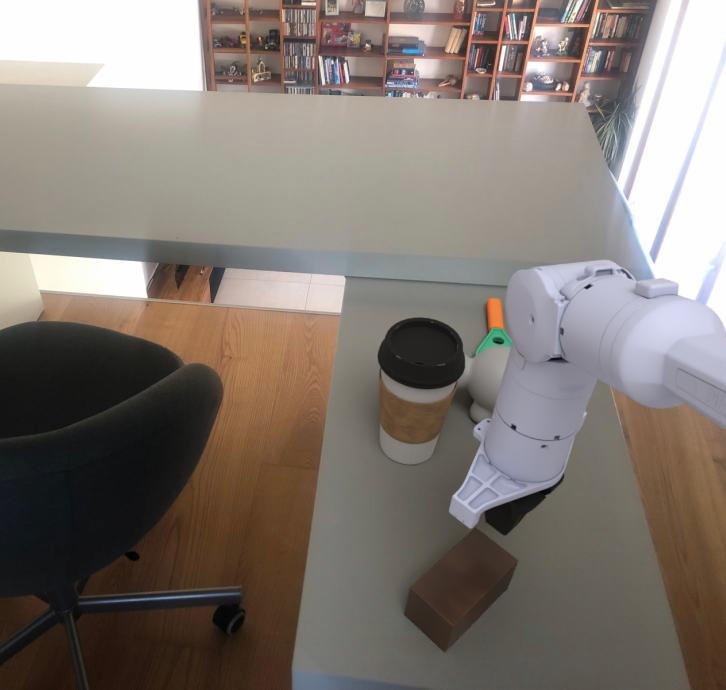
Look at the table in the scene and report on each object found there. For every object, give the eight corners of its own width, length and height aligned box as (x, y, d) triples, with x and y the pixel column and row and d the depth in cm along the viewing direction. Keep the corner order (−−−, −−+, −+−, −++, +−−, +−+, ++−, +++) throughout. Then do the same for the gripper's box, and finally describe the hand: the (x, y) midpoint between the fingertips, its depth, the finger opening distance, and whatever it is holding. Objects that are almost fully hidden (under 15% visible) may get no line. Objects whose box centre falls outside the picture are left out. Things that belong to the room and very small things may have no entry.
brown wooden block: (519, 560, 59) (453, 626, 55) (508, 587, 62) (444, 652, 58) (475, 526, 62) (409, 587, 58) (467, 554, 65) (403, 614, 61)
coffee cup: (361, 464, 73) (372, 359, 64) (375, 409, 79) (387, 305, 70) (441, 482, 71) (466, 376, 62) (450, 424, 77) (473, 319, 68)
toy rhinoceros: (425, 372, 84) (435, 317, 78) (528, 397, 80) (546, 341, 75) (412, 413, 79) (421, 357, 73) (521, 441, 75) (539, 384, 70)
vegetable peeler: (527, 388, 82) (530, 377, 80) (474, 382, 82) (477, 372, 81) (515, 310, 93) (518, 300, 92) (469, 306, 94) (471, 295, 93)
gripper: (545, 339, 55) (509, 452, 64) (426, 429, 48) (405, 542, 57) (630, 385, 51) (579, 499, 60) (514, 492, 44) (476, 602, 53)
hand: (499, 524), depth 58 cm, fingers closed
